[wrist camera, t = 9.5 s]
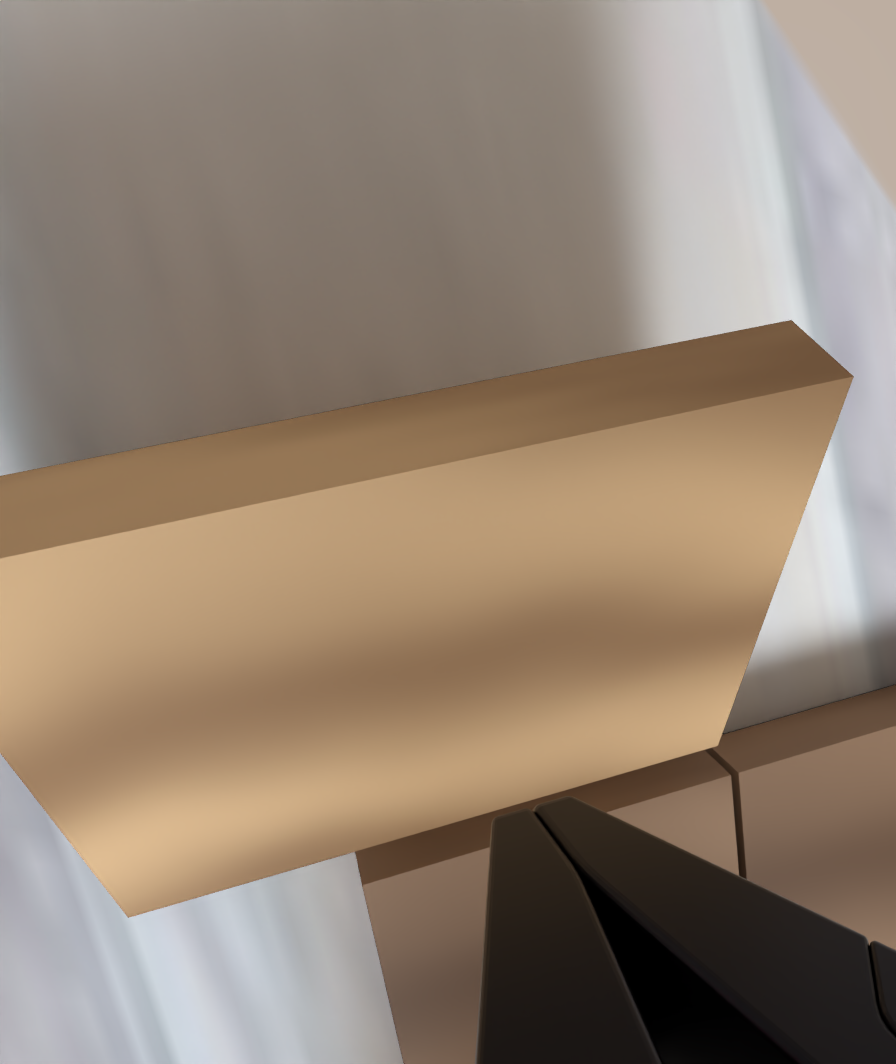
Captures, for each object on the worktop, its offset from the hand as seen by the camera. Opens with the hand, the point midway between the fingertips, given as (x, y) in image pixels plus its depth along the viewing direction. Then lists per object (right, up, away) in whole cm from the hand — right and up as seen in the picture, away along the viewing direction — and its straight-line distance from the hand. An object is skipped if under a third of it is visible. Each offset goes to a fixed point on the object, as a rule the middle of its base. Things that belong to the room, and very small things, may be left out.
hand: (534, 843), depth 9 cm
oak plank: (-2, +1, +7) cm, 7 cm away
